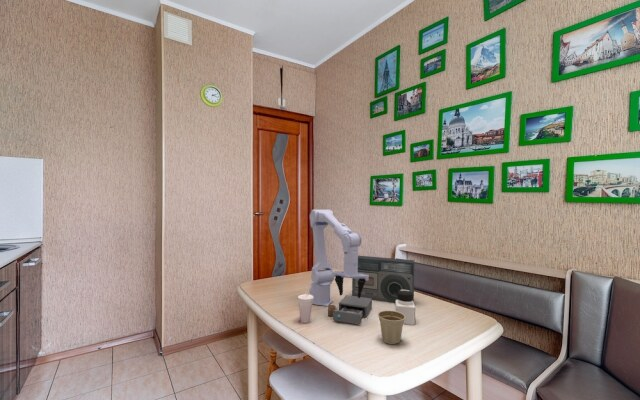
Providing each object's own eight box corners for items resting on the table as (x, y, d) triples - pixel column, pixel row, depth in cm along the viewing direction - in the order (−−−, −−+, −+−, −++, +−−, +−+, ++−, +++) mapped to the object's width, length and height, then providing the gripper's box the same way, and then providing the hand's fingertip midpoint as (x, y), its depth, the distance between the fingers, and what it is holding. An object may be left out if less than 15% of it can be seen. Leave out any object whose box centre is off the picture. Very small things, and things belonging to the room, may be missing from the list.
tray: (359, 325, 111) (359, 315, 111) (332, 320, 115) (332, 310, 115) (366, 314, 122) (366, 304, 122) (341, 310, 126) (341, 301, 126)
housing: (366, 317, 120) (366, 307, 120) (338, 313, 124) (338, 302, 124) (371, 308, 130) (371, 298, 130) (346, 304, 135) (346, 295, 135)
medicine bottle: (415, 325, 113) (415, 294, 113) (396, 323, 115) (396, 293, 115) (413, 318, 120) (413, 289, 120) (395, 316, 122) (395, 287, 122)
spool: (326, 316, 121) (326, 306, 121) (329, 313, 124) (329, 304, 124) (334, 317, 119) (334, 308, 119) (336, 314, 122) (336, 305, 122)
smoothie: (301, 325, 112) (301, 288, 112) (294, 319, 117) (295, 284, 117) (316, 322, 115) (316, 286, 115) (309, 316, 120) (309, 282, 120)
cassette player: (352, 297, 145) (352, 257, 145) (355, 293, 152) (356, 255, 152) (412, 306, 135) (413, 263, 135) (413, 301, 141) (414, 260, 141)
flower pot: (374, 334, 105) (374, 310, 105) (399, 333, 106) (399, 309, 106) (381, 347, 96) (382, 321, 96) (409, 346, 97) (409, 320, 97)
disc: (341, 316, 117) (341, 312, 117) (345, 311, 122) (345, 308, 122) (354, 319, 115) (354, 315, 115) (358, 313, 120) (358, 310, 120)
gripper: (330, 262, 117) (330, 296, 117) (366, 266, 112) (365, 301, 112) (336, 259, 124) (335, 291, 124) (369, 262, 119) (369, 296, 119)
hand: (350, 295), depth 119 cm, fingers open, 7 cm apart
